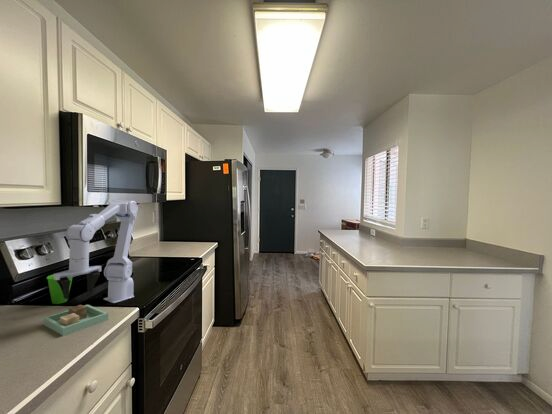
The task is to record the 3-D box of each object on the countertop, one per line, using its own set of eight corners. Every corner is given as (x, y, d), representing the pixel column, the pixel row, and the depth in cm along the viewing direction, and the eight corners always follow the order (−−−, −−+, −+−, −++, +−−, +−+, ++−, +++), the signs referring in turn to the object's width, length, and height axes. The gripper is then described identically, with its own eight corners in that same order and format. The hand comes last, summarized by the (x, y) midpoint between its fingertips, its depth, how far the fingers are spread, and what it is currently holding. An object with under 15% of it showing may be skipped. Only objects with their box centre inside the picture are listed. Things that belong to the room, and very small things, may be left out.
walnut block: (80, 315, 100) (81, 304, 100) (86, 317, 98) (86, 307, 98) (68, 319, 97) (68, 308, 97) (74, 321, 95) (74, 310, 95)
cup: (41, 302, 111) (42, 276, 111) (66, 296, 119) (67, 271, 119) (52, 307, 107) (52, 280, 107) (77, 300, 115) (78, 275, 115)
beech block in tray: (73, 324, 93) (73, 313, 93) (79, 327, 91) (79, 315, 91) (59, 328, 90) (59, 317, 90) (65, 332, 88) (65, 320, 88)
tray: (87, 312, 105) (87, 304, 104) (108, 321, 98) (108, 313, 98) (43, 326, 92) (43, 317, 92) (63, 337, 86) (63, 328, 85)
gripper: (94, 253, 105) (93, 287, 106) (49, 259, 93) (48, 298, 93) (104, 255, 102) (103, 291, 102) (59, 262, 89) (58, 303, 89)
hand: (78, 294), depth 97 cm, fingers open, 7 cm apart
